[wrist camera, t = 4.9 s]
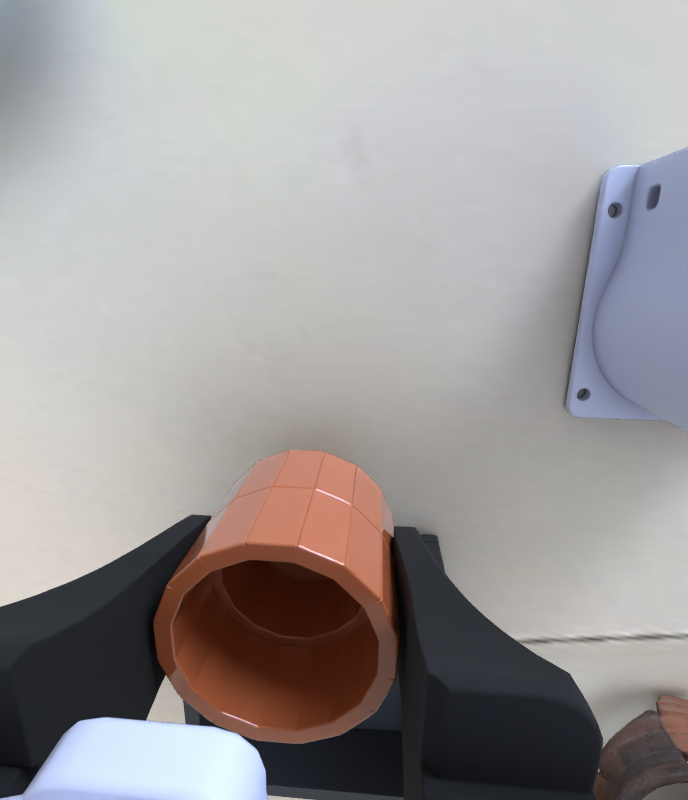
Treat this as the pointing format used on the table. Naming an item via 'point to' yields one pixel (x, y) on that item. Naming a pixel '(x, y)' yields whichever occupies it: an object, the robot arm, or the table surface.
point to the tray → (339, 752)
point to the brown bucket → (286, 603)
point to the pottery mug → (646, 753)
